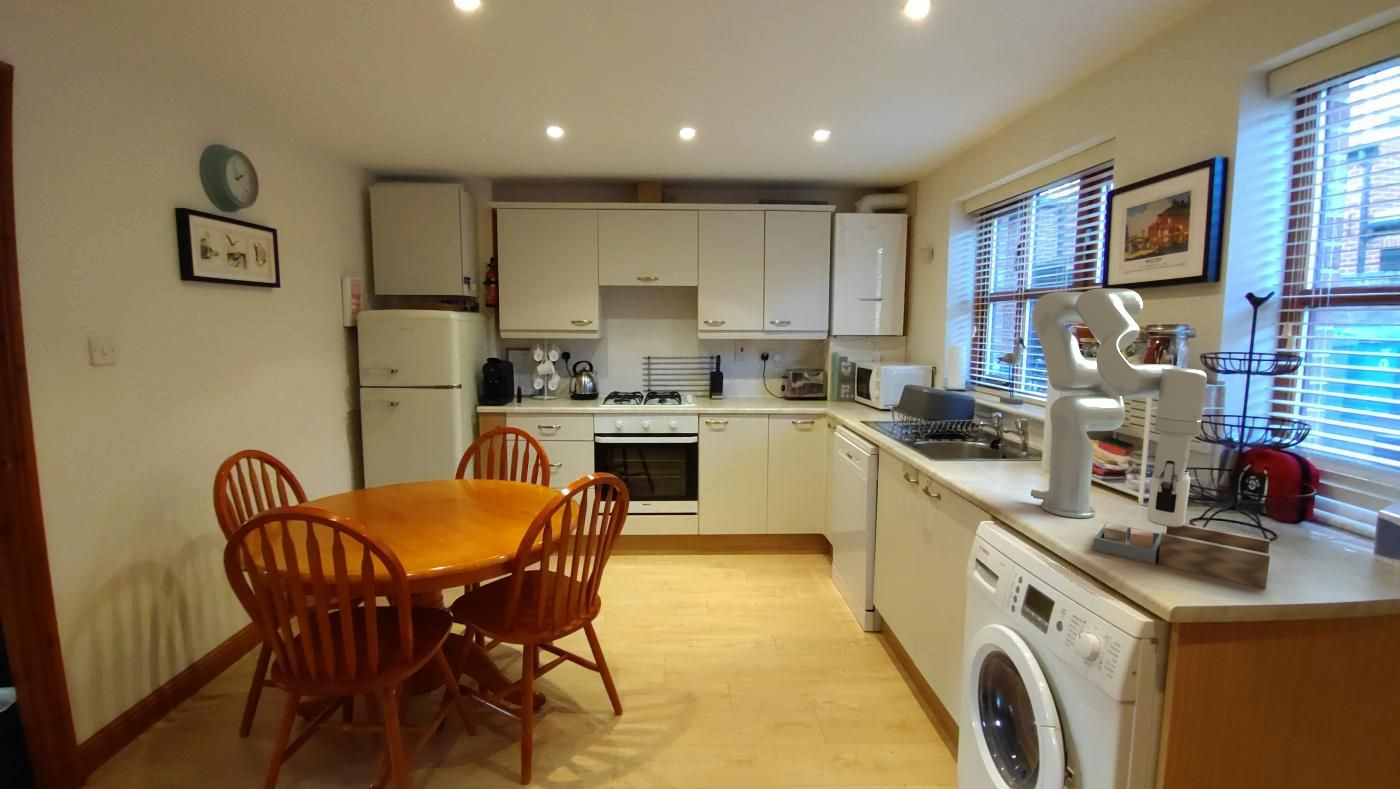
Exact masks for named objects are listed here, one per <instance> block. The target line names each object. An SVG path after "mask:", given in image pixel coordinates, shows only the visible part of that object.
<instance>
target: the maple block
mask: <svg viewBox="0 0 1400 789" xmlns="http://www.w3.org/2000/svg"><path fill="white" fill-rule="evenodd" d="M1106 523H1107V524H1106ZM1106 523H1105V524H1106V526H1105V531H1104V539H1107V540H1111V541H1116V542H1121V543H1125V544H1126V542H1127V531H1128V527H1129V526H1126V525H1121V526H1120V525H1119V524H1116V525H1114V524H1115V523H1111V524H1109V523H1110V522H1106ZM1125 526H1126V527H1125Z"/></svg>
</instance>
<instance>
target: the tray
mask: <svg viewBox="0 0 1400 789" xmlns="http://www.w3.org/2000/svg"><path fill="white" fill-rule="evenodd" d="M1107 523H1109V524H1112V523H1110V522H1106V523H1105V524H1104V525H1103V527H1102V528H1100V531H1099V532H1097V534H1096V535H1095V537H1094V540H1093V550H1095V551H1094V552H1097V551H1100V552H1099V553H1101V552H1104V553H1103V554H1105V553H1108V554H1107V555H1110V554H1112V555H1111V556H1114V555H1116V556H1115V557H1118V556H1121V557H1120V558H1123V557H1125V558H1124V559H1127V558H1130V559H1129V560H1132V559H1135V560H1134V561H1136V560H1139V561H1138V562H1140V561H1142V563H1145V562H1147V563H1146V564H1149V563H1151V564H1150V565H1153V564H1155V565H1156V562H1157V561H1158V560H1159V552H1160V542H1161V534H1162V533H1163V532H1156V531H1152V530H1151V531H1150V530H1148V531H1149V532H1153V545H1152V549H1149V548H1144V547H1139V546H1135V545H1130V534H1131V528H1132V529H1138V530H1143V531H1147V530H1146V529H1140V528H1136V527H1130V526H1126V525H1124V526H1125V527H1128V531H1127V542H1126V544H1125V543H1121V542H1116V541H1111V540H1107V539H1104V531H1105V526H1106V524H1107ZM1113 524H1114V525H1117V524H1116V523H1113ZM1120 526H1122V525H1120Z"/></svg>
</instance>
